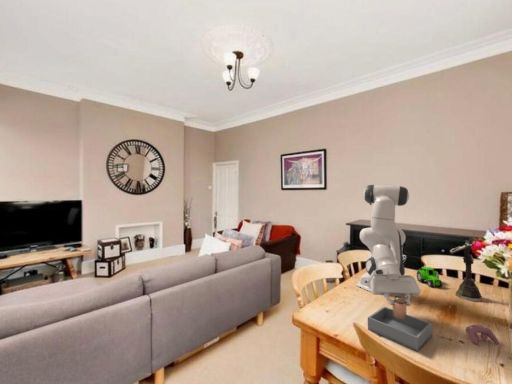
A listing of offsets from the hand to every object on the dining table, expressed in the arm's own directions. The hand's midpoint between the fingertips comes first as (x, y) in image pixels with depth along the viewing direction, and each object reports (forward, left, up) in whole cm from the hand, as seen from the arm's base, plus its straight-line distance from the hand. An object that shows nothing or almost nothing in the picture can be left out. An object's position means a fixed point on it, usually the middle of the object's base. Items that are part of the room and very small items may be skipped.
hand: (400, 304), depth 107 cm
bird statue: (+7, +68, -13) cm, 70 cm away
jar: (0, 0, -5) cm, 5 cm away
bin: (-1, +1, -13) cm, 13 cm away
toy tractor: (-11, +76, -13) cm, 78 cm away
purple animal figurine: (+23, +21, -13) cm, 34 cm away
